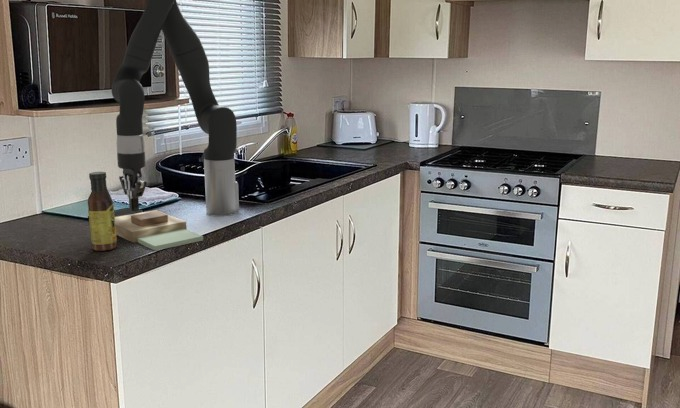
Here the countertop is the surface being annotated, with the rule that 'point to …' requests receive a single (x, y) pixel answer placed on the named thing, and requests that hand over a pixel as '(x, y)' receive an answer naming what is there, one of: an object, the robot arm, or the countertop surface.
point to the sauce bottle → (101, 214)
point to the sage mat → (169, 239)
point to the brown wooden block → (149, 218)
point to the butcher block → (145, 227)
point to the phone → (124, 212)
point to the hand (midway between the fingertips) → (134, 210)
